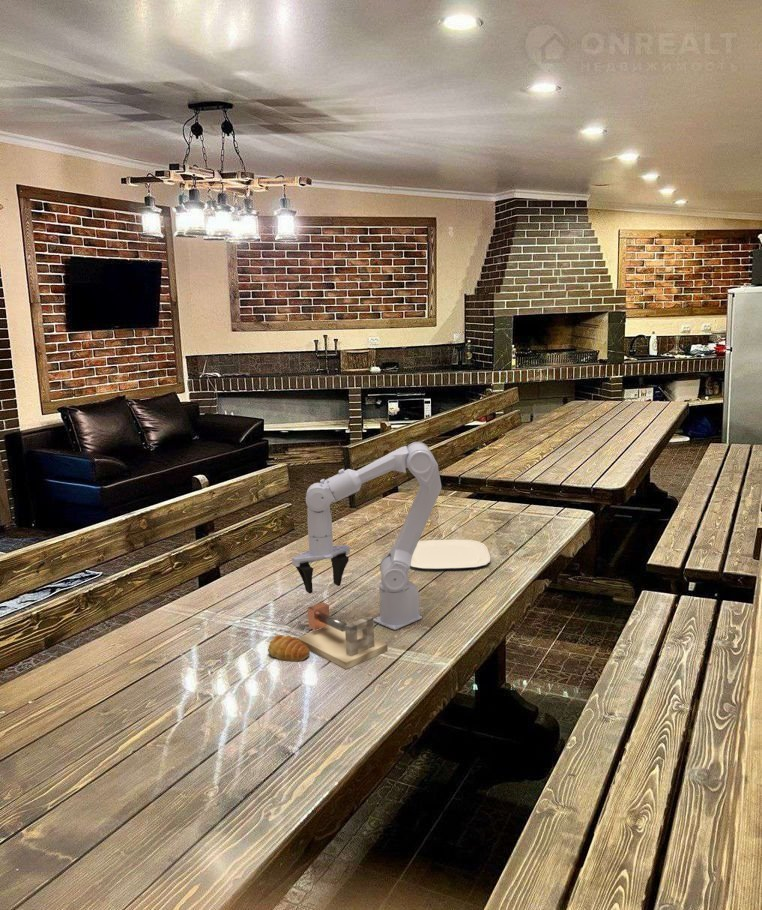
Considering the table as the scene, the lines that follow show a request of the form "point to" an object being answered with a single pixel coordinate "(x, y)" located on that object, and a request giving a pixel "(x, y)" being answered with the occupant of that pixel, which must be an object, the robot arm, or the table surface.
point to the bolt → (323, 617)
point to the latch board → (345, 643)
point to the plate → (450, 554)
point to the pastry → (288, 648)
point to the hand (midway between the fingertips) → (323, 588)
